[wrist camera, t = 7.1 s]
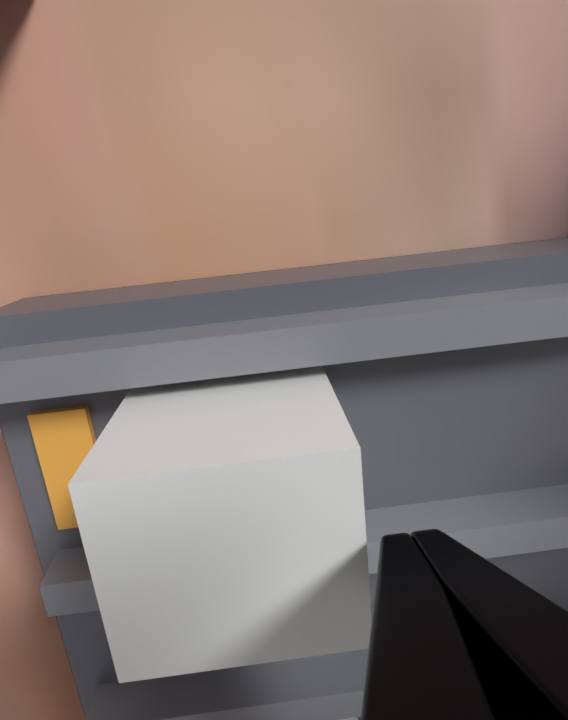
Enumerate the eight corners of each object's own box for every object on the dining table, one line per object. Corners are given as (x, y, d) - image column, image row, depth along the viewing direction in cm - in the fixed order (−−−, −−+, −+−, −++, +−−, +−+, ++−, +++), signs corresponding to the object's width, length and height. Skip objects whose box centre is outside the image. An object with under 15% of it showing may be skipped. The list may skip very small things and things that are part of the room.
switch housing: (797, 211, 13) (997, 212, 10) (709, 681, 18) (823, 797, 14) (22, 298, 13) (-67, 333, 9) (141, 763, 17) (114, 907, 14)
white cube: (320, 363, 11) (360, 448, 7) (332, 505, 12) (373, 647, 8) (132, 385, 11) (67, 484, 7) (161, 527, 12) (118, 683, 8)
